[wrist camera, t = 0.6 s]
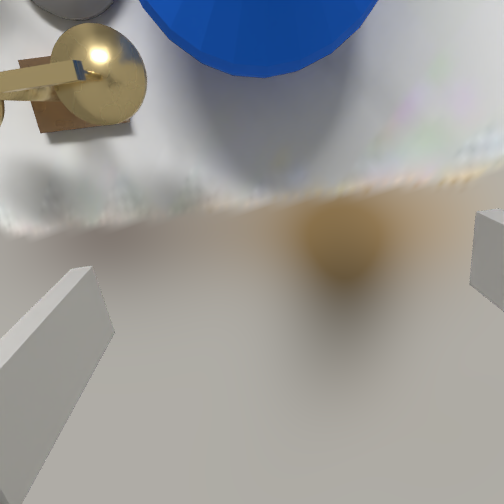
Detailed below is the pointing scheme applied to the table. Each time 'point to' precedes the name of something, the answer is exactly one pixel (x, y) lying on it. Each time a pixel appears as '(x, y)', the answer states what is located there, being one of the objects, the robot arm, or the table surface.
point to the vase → (258, 31)
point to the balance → (80, 80)
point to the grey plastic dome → (75, 8)
